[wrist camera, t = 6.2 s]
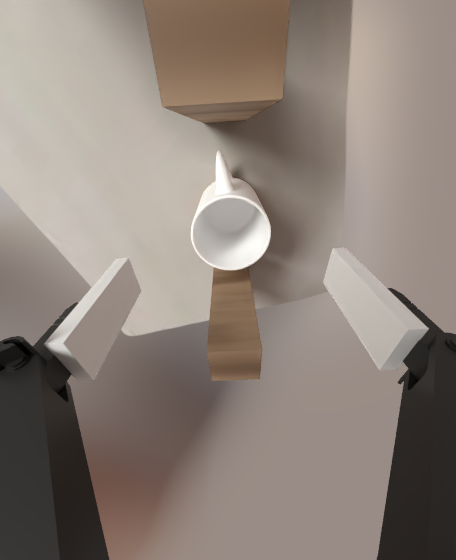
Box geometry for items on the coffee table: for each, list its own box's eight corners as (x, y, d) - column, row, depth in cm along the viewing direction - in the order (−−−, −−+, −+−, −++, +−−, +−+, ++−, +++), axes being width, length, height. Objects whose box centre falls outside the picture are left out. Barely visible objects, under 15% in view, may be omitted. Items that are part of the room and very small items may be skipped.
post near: (198, 64, 22) (119, -130, 6) (244, 60, 22) (302, -147, 6) (203, 123, 25) (162, 106, 9) (245, 120, 25) (282, 99, 8)
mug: (254, 141, 26) (269, 145, 17) (259, 230, 33) (272, 265, 24) (188, 152, 27) (170, 163, 18) (207, 237, 34) (200, 275, 25)
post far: (215, 249, 35) (206, 352, 19) (244, 247, 35) (262, 349, 18) (217, 273, 38) (211, 380, 21) (244, 272, 38) (259, 379, 21)
